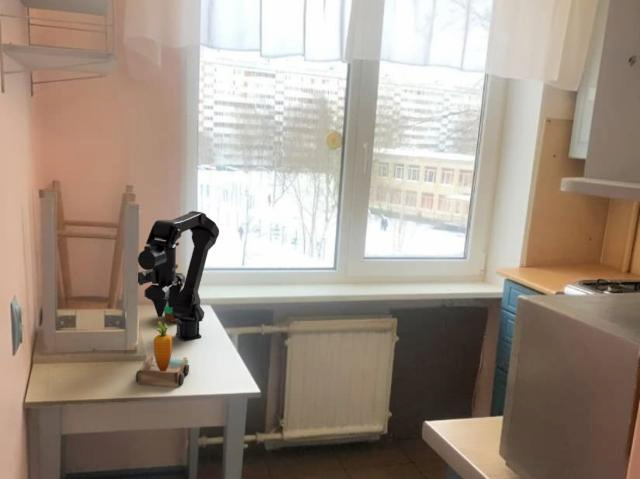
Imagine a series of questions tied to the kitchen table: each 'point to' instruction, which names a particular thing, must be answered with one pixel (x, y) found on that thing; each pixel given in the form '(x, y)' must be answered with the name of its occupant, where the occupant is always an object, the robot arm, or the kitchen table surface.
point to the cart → (162, 373)
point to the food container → (169, 314)
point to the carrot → (162, 348)
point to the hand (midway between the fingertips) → (165, 312)
